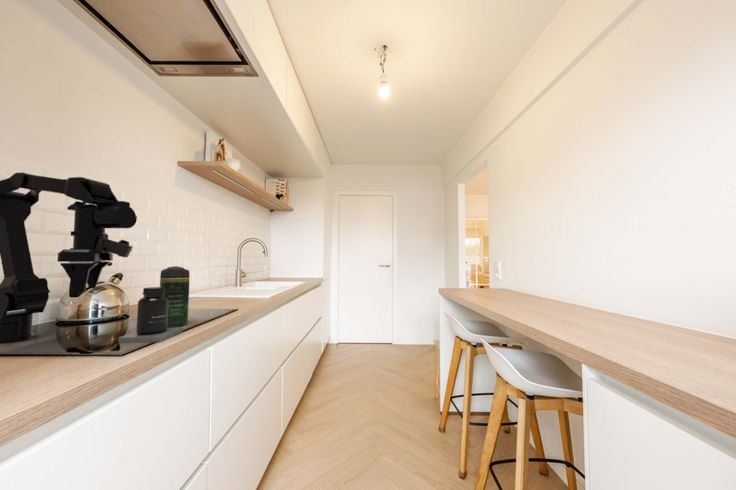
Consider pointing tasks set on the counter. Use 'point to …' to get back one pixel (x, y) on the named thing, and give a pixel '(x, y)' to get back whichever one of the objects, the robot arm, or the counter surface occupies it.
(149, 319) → the supplement bottle
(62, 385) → the counter surface
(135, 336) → the coaster
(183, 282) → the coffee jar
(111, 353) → the counter surface
